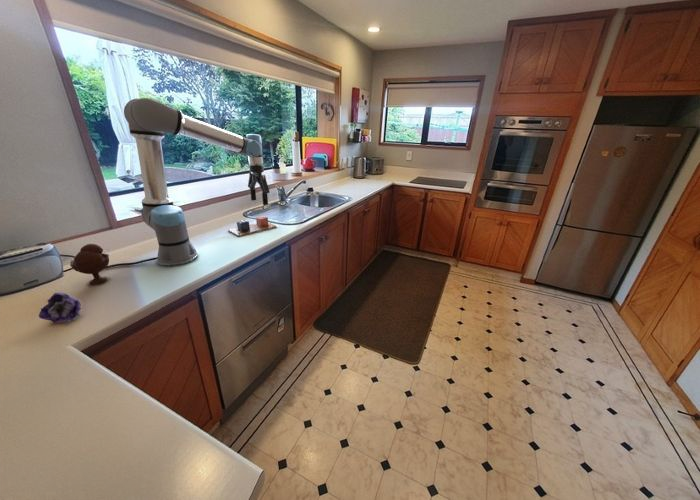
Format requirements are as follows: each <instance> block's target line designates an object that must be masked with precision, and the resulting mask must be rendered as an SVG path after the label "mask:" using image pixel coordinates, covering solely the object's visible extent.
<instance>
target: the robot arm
mask: <svg viewBox="0 0 700 500" xmlns="http://www.w3.org/2000/svg"><path fill="white" fill-rule="evenodd" d="M123 115H124V119H125V120H126V122H127V123H128V129H129V134H130V136H132V137H133V138H134V139H135V144H136V150H137V155H138V161H139V166H140V175H141V178H142V179H141V180H142V186H143V191H144V192H143V193H144V198H143V199H142V200H141V207H142V209H141V218H142V221H143V222H144V223H145V224H146V225H147V226H148V227H149V228H151V229H152V230H153V231H154V233H155V236H156V240H157V244H158V251H157V256H156V257H151V258H147V259H142V260H139V261H133V262H120V263H114V264H113V263H112V264H110V265H109V264H108V265H107V267H106V268H104V269H103V270H106V269H109V268H114V267H119V266H134V265H139V264H142V263H146V262H151V261H155V260H157V263H158V265H160V266H162V267H178V266H184V265H187V264H189V263H191V262H194V261H195V260H196V259H197V258H198V252H197V250H196V249H195V247H194V246H193V244H192V242H191V241H190V237H189V232H188V228H187V227H188V226H187V222H186V215H185V213H184V211H183V209H182V208H181V207H180V206H177V205H174V200H173V198H171V197H169V191H168V185H167V184H168V183H167V175H166V169H165V161H164V154H163V147H162V140H163V139H164V138H165V134H169V135H173V136H178V135H181V136H185V137H188V138H190V139H194V140H197V141H201V142H204V143H207V144H210V145H214V146H215V147H216V146H217V147H219V148H222V149H224V151H225V152H226V153H227V154H228V155H242V156H247V159H248V165H249V167H248V169H249V172H248V175H249V176H248V183H247V188H249V190H250V200H251V201H257V194H256V193H257V192H256V185H257V184H258V185H259V187H260V189H261V192H262V193H261V197H262V198H261V199H262V206H268V205H269V200H268V194H270V193H271V192H270V188H269V184H268V181H267V178H266V175H265V174H263V173H264V171H265V167H264V156H263V155H264V153H263V139H262V136H261V135H260V134H253V133H247V134H246V135H245V137H244V136H242V135H239V134H236V133H234V132H231V131H228V130H226V129H223V128H220V127H217V126H214V125H212V124H209V123H206V122H204V121H201V120H198V119H196V118H193V117H190V116H188V115H185V114H183V112H182V111H181V110H179V109H176V108H174V107H172V106H169V105H167V104H165V103H162V102H161V101H159V100H156V99H153V98H149V97H142V98H140V97H139V98H137V97H136V98H134V99H133V98H132V99H131V100H128V102H127V103H126V104H125V106H124V107H123Z"/></svg>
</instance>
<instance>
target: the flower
mask: <svg viewBox="0 0 700 500" xmlns="http://www.w3.org/2000/svg"><path fill="white" fill-rule="evenodd" d="M46 301H47V304H45V305H44V306H43V307H41V308H40V311H39V314H38V317H39V319H42V320H45V321H49V322H51V323H52V324H57V323H63V324H64V323H67V324H68V323H70V322H71V321H74V320H76V319H77V318H79V317H81V309H82V301H81V300H80V299H77V298H75V297H73V296H71V295H69V294H68V293H66V292H54V293H53V294H52V296H51V297H50V298H49V299H47V300H46Z"/></svg>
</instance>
